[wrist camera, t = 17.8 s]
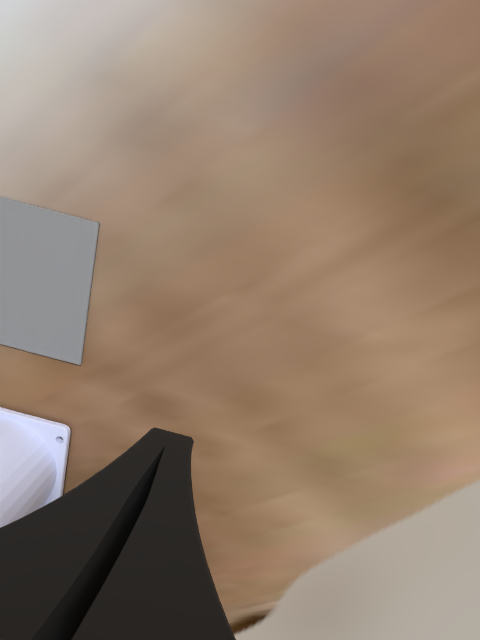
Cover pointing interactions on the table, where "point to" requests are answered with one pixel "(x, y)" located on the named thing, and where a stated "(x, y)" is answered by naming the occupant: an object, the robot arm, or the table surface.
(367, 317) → the table surface
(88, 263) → the mat
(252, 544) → the table surface
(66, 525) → the robot arm
